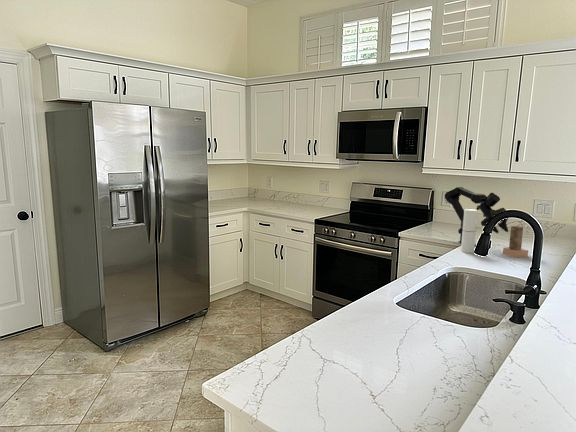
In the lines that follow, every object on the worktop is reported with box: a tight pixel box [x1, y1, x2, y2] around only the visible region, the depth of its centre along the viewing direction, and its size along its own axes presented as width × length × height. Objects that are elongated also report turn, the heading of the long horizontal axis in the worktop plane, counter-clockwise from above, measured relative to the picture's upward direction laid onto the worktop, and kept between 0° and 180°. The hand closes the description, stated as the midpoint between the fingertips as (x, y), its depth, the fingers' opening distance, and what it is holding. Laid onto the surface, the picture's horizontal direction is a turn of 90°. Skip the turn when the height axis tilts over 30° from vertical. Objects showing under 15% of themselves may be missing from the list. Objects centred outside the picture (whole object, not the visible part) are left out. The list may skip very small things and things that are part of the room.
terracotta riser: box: [502, 246, 529, 258], centre depth 233 cm, size 9×9×4 cm
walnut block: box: [508, 225, 524, 250], centre depth 232 cm, size 4×4×13 cm
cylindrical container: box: [460, 208, 479, 254], centre depth 238 cm, size 7×7×25 cm
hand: (502, 232), depth 239 cm, fingers open, 9 cm apart
